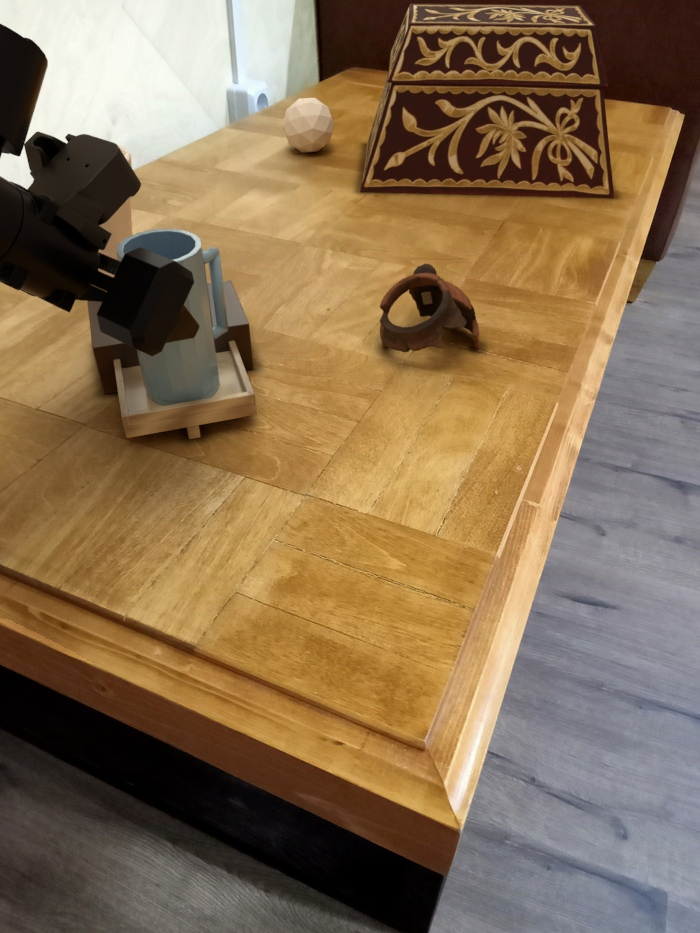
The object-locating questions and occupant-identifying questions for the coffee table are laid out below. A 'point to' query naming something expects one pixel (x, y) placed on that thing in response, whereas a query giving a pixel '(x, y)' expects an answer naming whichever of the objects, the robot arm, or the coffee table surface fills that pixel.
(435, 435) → the coffee table surface
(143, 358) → the tall blue mug
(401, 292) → the brown hollow shell
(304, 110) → the geometric ball
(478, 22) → the decorative box
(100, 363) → the walnut box
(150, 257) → the robot arm
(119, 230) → the cup
